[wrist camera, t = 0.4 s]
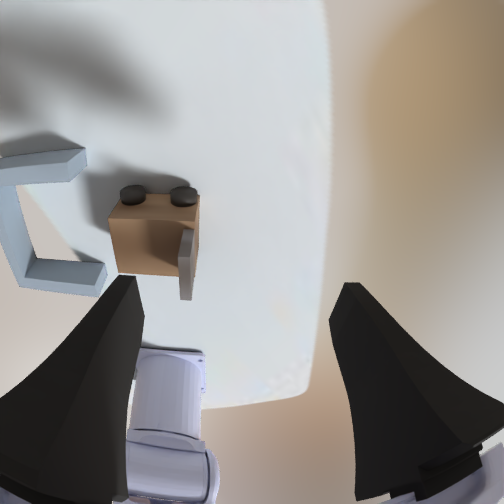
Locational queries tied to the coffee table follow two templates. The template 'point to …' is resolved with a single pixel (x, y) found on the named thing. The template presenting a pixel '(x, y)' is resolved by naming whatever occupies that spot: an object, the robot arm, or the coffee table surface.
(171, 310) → the coffee table surface
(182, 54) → the coffee table surface
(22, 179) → the bay
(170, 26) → the coffee table surface
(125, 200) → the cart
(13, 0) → the coffee table surface
